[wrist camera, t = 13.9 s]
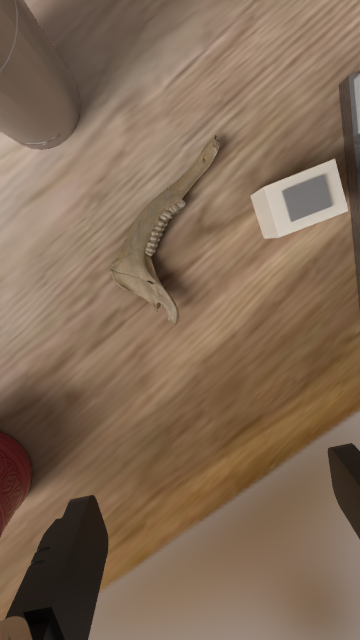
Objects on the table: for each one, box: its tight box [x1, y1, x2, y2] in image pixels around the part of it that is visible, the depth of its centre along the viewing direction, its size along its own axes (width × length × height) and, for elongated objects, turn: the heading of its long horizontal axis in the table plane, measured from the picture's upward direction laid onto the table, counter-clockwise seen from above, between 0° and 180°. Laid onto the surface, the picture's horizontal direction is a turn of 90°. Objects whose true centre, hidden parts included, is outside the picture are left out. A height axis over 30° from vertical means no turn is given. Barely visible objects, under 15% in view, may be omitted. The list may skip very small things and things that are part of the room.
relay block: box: [251, 159, 348, 239], centre depth 34 cm, size 5×7×6 cm
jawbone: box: [110, 135, 221, 325], centre depth 37 cm, size 9×20×2 cm, turn 167°
